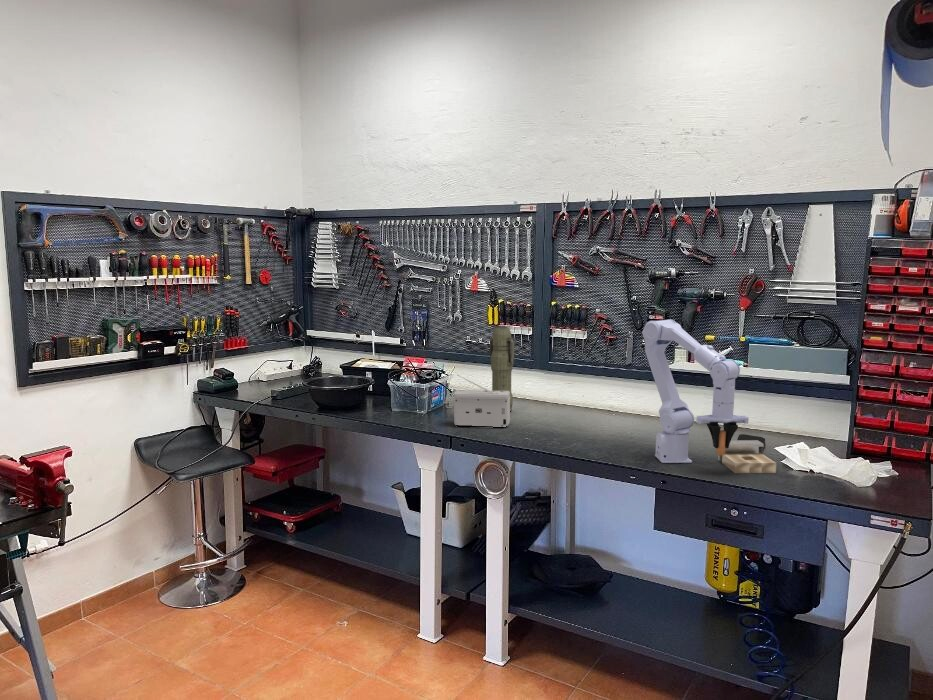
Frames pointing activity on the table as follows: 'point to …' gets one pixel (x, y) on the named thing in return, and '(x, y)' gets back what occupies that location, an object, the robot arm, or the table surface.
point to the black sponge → (750, 437)
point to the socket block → (749, 463)
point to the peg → (721, 443)
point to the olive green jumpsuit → (502, 360)
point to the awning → (742, 447)
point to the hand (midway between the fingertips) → (720, 447)
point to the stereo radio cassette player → (481, 407)
